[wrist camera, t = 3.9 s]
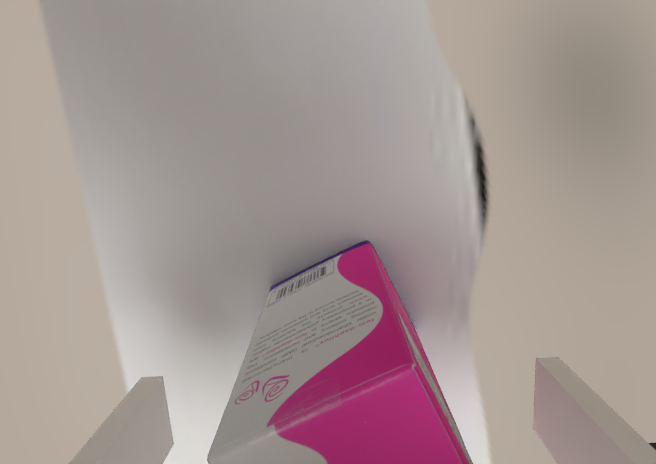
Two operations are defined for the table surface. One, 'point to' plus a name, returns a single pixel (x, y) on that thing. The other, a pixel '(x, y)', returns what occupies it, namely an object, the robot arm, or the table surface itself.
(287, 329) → the supplement box
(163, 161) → the table surface
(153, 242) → the table surface
